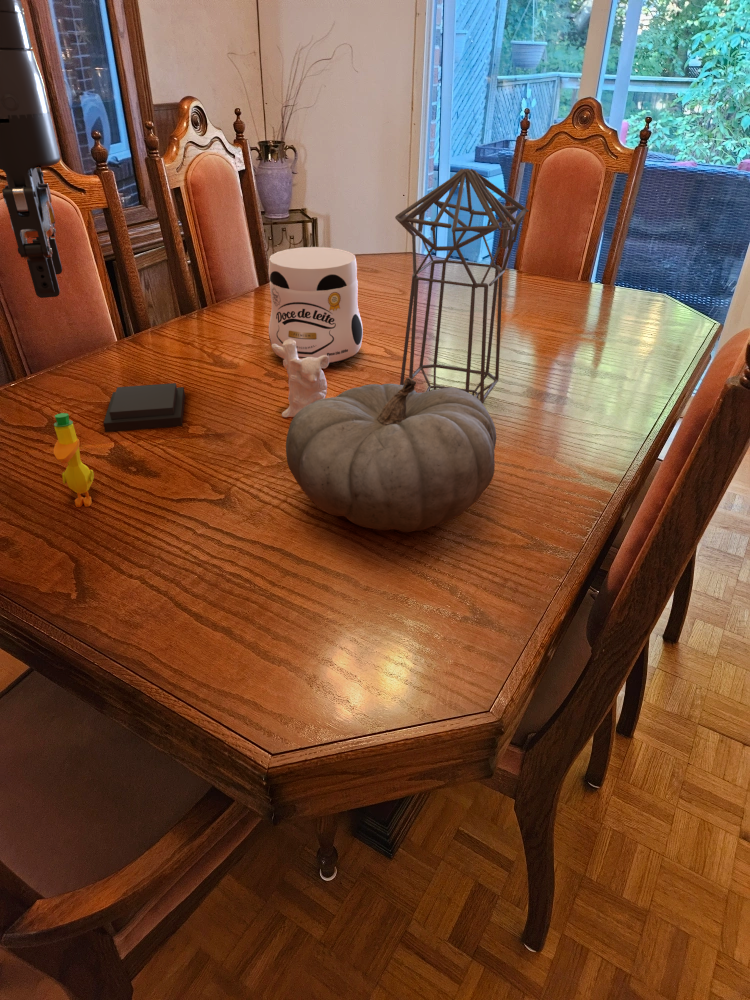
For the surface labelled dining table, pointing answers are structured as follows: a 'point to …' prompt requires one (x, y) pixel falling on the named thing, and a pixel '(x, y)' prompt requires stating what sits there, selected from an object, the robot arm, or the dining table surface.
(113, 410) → the pad stack
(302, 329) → the milk container
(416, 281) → the geometric lantern
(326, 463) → the gourd
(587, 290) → the dining table surface
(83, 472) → the toy figure
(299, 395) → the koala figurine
